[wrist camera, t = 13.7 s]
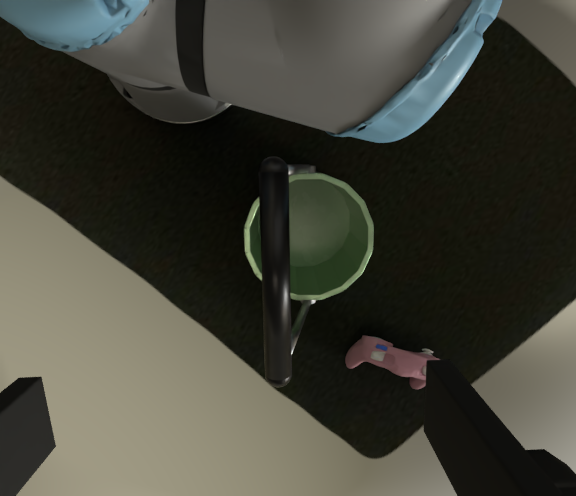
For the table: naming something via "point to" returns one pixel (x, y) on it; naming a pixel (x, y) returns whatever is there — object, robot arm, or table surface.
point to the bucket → (302, 249)
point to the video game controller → (391, 359)
